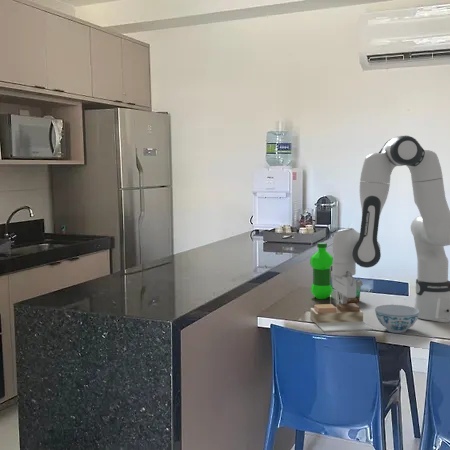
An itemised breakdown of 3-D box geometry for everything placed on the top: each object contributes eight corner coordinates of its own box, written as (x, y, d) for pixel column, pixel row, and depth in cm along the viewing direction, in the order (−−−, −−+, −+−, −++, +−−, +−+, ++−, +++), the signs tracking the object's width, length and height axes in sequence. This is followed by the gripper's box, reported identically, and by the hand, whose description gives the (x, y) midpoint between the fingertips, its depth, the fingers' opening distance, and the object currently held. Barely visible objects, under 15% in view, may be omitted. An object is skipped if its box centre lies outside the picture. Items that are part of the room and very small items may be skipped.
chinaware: (414, 339, 185) (414, 316, 184) (370, 333, 192) (370, 311, 192) (421, 328, 198) (422, 307, 197) (380, 323, 205) (380, 303, 205)
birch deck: (355, 316, 215) (355, 306, 215) (363, 322, 206) (363, 312, 206) (310, 318, 213) (310, 308, 213) (316, 324, 205) (316, 313, 204)
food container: (344, 306, 231) (345, 283, 230) (336, 303, 237) (336, 280, 236) (368, 303, 236) (368, 280, 235) (359, 300, 242) (359, 278, 241)
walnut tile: (354, 307, 213) (354, 303, 213) (359, 311, 207) (359, 306, 207) (336, 308, 212) (336, 303, 212) (341, 312, 206) (341, 307, 206)
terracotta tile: (331, 308, 212) (331, 303, 212) (336, 312, 206) (336, 307, 206) (314, 309, 211) (314, 304, 211) (318, 313, 205) (318, 308, 205)
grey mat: (363, 322, 206) (363, 321, 206) (372, 329, 196) (372, 328, 196) (316, 324, 205) (316, 322, 205) (323, 331, 195) (323, 330, 195)
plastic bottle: (328, 294, 254) (329, 241, 251) (336, 300, 243) (336, 244, 241) (307, 295, 252) (308, 242, 250) (314, 300, 242) (314, 245, 240)
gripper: (360, 274, 204) (360, 310, 205) (344, 265, 224) (343, 298, 225) (344, 274, 203) (344, 311, 204) (329, 265, 223) (328, 298, 225)
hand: (343, 304), depth 215 cm, fingers closed
